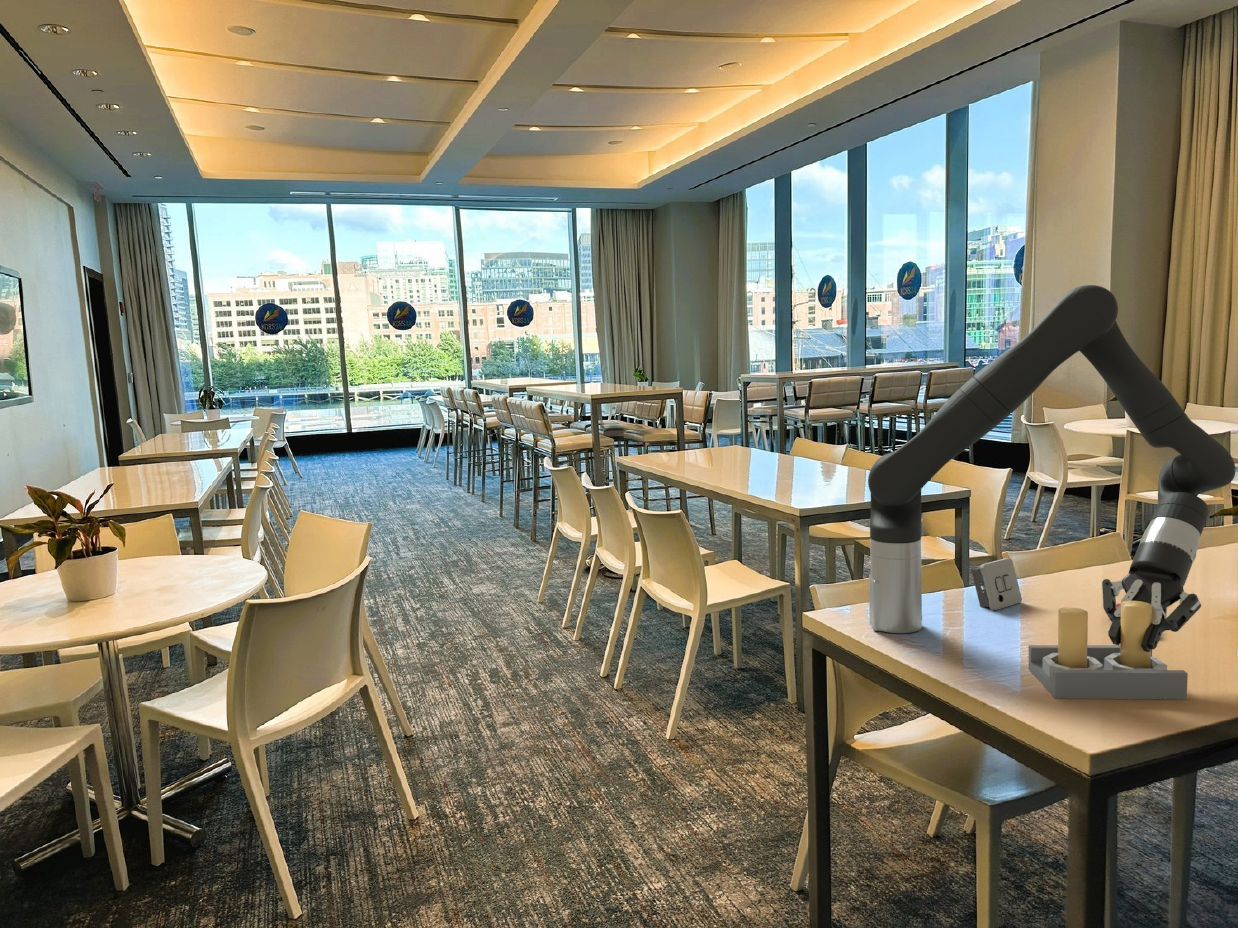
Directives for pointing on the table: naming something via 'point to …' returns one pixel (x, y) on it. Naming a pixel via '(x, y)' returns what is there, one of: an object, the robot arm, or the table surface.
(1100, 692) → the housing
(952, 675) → the table surface
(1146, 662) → the domed yellow post
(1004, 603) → the electrical switch
